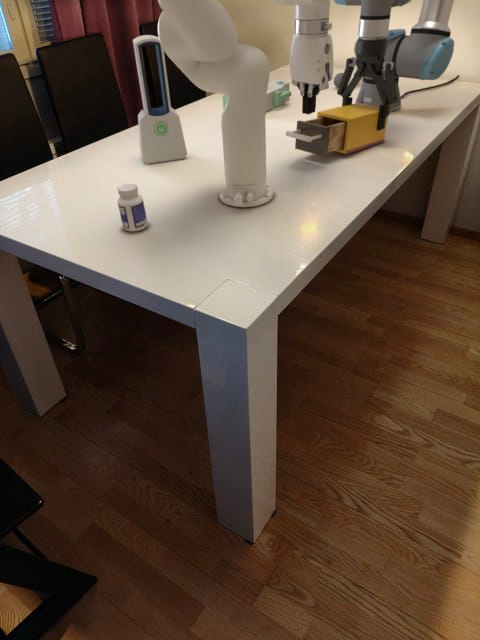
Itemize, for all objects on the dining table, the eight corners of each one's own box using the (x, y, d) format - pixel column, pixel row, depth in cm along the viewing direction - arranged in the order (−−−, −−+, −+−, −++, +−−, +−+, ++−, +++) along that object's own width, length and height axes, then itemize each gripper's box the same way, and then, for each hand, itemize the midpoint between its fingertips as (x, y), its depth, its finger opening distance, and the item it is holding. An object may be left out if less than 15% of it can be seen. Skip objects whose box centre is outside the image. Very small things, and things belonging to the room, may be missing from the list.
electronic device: (143, 164, 135) (122, 41, 116) (140, 155, 141) (120, 37, 122) (187, 158, 137) (173, 36, 119) (183, 149, 143) (169, 32, 124)
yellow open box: (345, 154, 130) (350, 118, 125) (314, 145, 137) (317, 111, 132) (383, 141, 141) (389, 109, 136) (352, 134, 147) (356, 102, 142)
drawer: (310, 160, 122) (312, 131, 118) (281, 152, 128) (283, 124, 124) (362, 144, 135) (366, 117, 131) (334, 137, 140) (337, 111, 136)
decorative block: (254, 76, 186) (299, 81, 176) (254, 94, 190) (299, 100, 180) (212, 92, 170) (260, 98, 160) (214, 111, 174) (260, 118, 164)
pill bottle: (149, 220, 107) (142, 181, 102) (146, 231, 103) (138, 191, 98) (125, 221, 107) (116, 182, 102) (121, 232, 103) (112, 193, 98)
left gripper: (349, 27, 108) (342, 114, 119) (297, 23, 116) (296, 104, 128) (327, 32, 104) (322, 121, 115) (276, 27, 113) (276, 111, 124)
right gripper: (421, 39, 121) (406, 129, 135) (344, 32, 135) (338, 115, 148) (404, 43, 117) (391, 136, 131) (327, 36, 131) (322, 121, 144)
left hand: (308, 112), depth 121 cm, fingers closed
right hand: (363, 125), depth 140 cm, fingers closed on yellow open box, 11 cm apart
